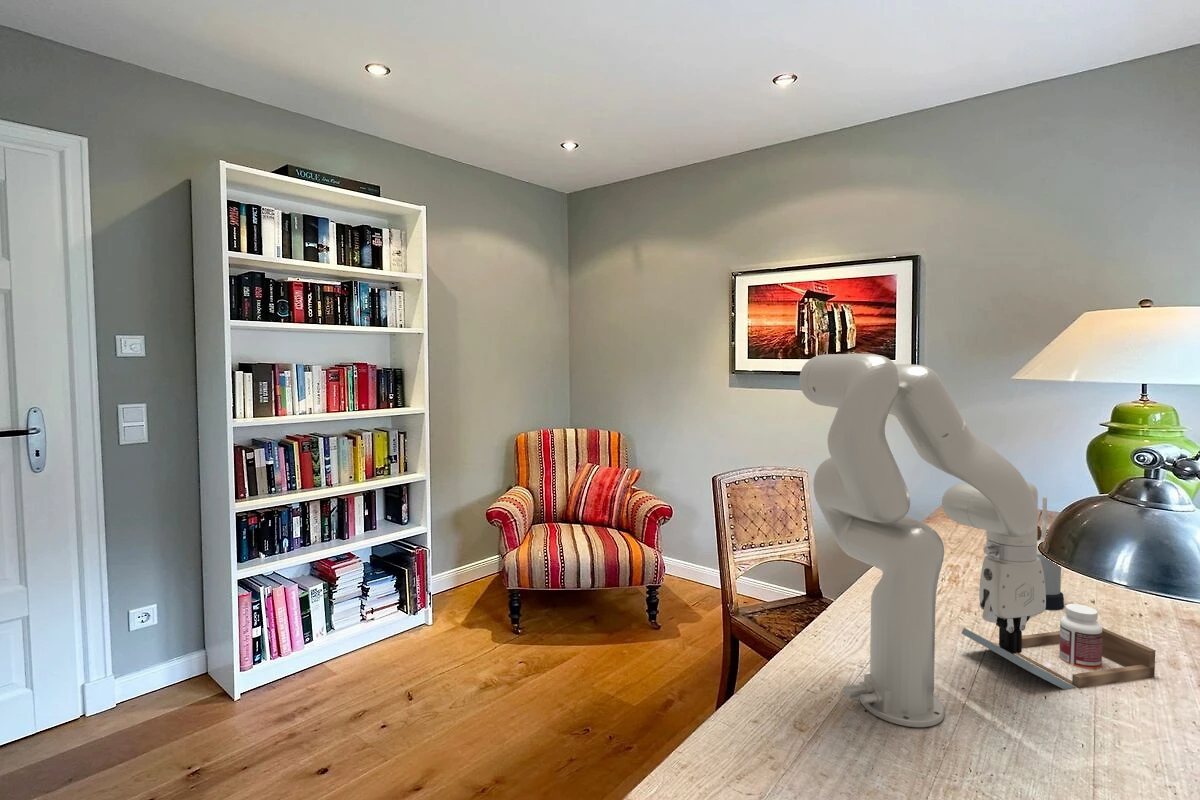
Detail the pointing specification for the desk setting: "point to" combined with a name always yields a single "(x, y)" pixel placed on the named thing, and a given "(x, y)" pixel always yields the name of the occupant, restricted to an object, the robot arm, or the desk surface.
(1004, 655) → the metal panel
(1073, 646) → the pill bottle
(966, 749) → the desk surface
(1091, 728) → the desk surface
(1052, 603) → the humidifier
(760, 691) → the desk surface
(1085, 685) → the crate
